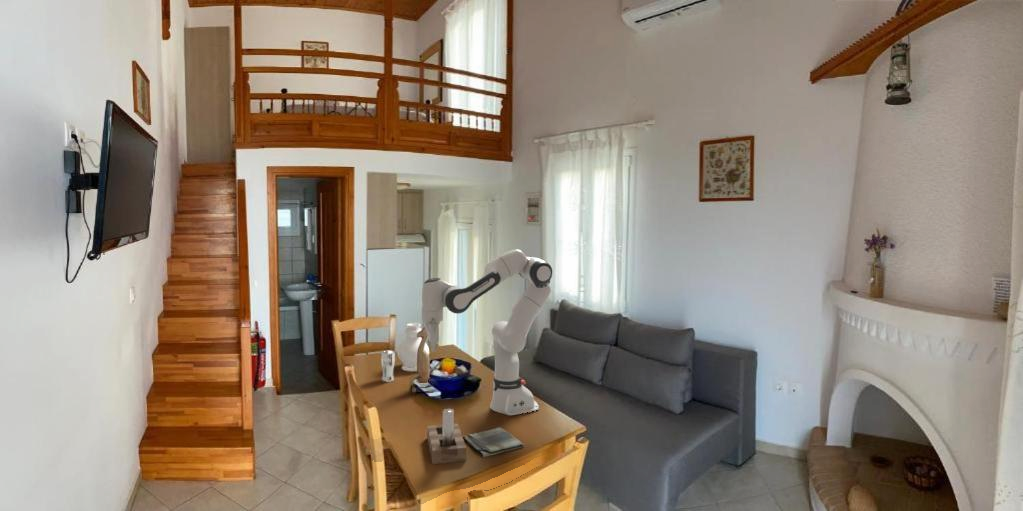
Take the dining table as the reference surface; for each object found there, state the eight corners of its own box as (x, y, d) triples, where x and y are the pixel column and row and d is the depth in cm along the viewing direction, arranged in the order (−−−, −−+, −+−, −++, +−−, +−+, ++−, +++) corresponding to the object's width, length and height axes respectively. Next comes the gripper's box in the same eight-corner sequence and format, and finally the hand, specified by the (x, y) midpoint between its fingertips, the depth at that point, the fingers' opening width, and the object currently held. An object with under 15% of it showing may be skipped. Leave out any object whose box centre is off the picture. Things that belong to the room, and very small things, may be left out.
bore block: (427, 438, 192) (427, 426, 192) (457, 435, 195) (457, 423, 195) (432, 464, 173) (432, 450, 173) (465, 460, 176) (466, 447, 176)
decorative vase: (398, 362, 284) (399, 320, 281) (429, 362, 286) (430, 321, 283) (394, 373, 266) (395, 328, 264) (427, 373, 268) (428, 328, 266)
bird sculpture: (410, 385, 249) (410, 324, 245) (434, 383, 252) (433, 323, 248) (412, 394, 238) (411, 330, 235) (436, 392, 241) (435, 328, 238)
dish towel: (500, 430, 203) (500, 422, 203) (524, 448, 188) (524, 440, 188) (460, 439, 193) (460, 432, 193) (482, 460, 178) (482, 451, 178)
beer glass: (382, 377, 258) (382, 350, 257) (395, 377, 259) (396, 350, 257) (380, 382, 251) (380, 353, 250) (393, 382, 252) (394, 354, 250)
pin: (449, 449, 182) (450, 407, 181) (454, 453, 179) (455, 411, 177) (440, 451, 180) (440, 410, 178) (445, 456, 177) (445, 414, 175)
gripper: (442, 321, 198) (442, 354, 199) (437, 311, 218) (436, 341, 219) (427, 322, 196) (426, 355, 198) (422, 311, 216) (422, 342, 217)
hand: (431, 348), depth 208 cm, fingers open, 8 cm apart
